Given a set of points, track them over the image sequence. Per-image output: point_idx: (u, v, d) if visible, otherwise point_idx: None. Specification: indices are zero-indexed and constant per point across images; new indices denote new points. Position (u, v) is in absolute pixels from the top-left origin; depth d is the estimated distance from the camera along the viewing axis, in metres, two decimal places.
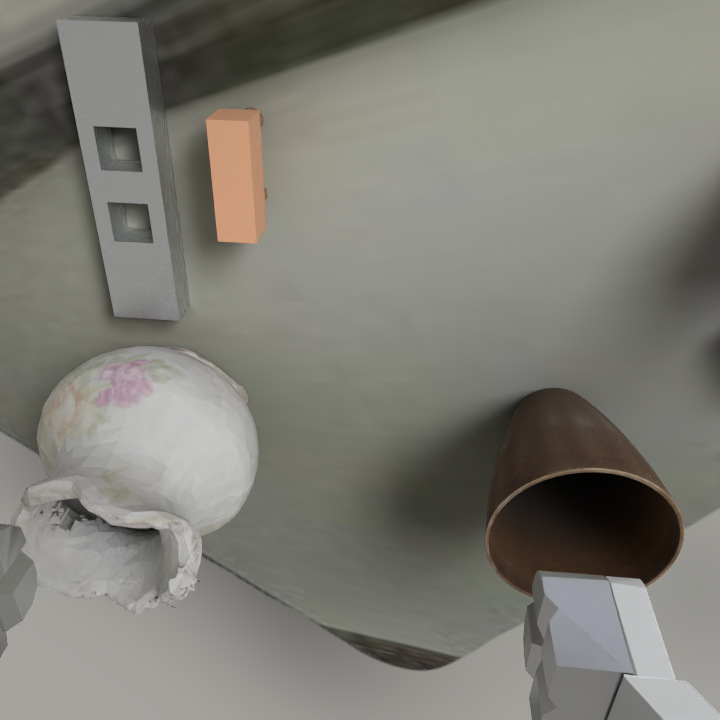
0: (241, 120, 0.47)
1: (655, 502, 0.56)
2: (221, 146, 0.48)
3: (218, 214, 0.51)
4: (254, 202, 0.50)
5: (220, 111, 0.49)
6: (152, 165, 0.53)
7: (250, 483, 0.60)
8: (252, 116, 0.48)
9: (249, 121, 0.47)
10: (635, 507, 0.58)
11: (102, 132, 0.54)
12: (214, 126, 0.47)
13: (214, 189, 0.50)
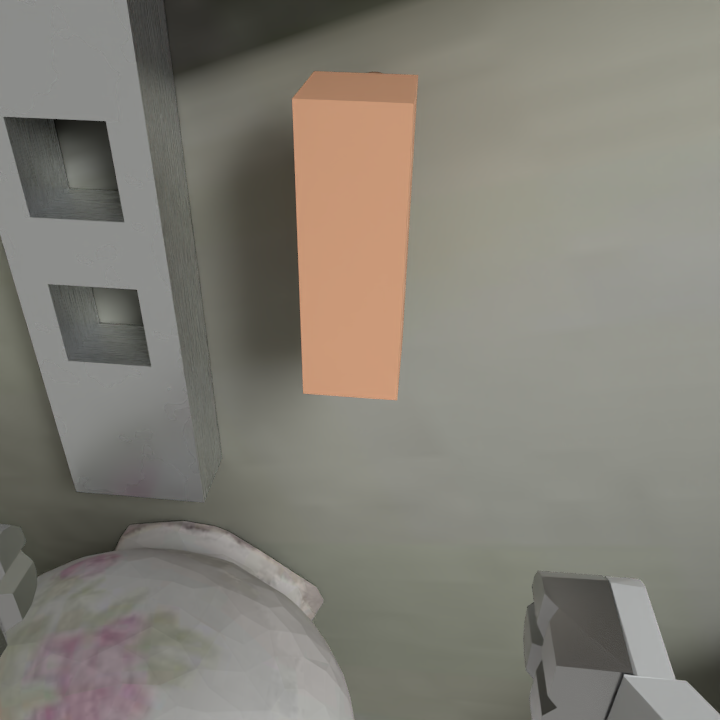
0: (393, 101, 0.17)
1: None
2: (331, 173, 0.18)
3: (309, 336, 0.20)
4: (402, 309, 0.20)
5: (320, 78, 0.19)
6: (146, 207, 0.23)
7: None
8: (413, 90, 0.18)
9: (414, 103, 0.17)
10: None
11: (32, 130, 0.23)
12: (315, 118, 0.17)
13: (303, 279, 0.19)
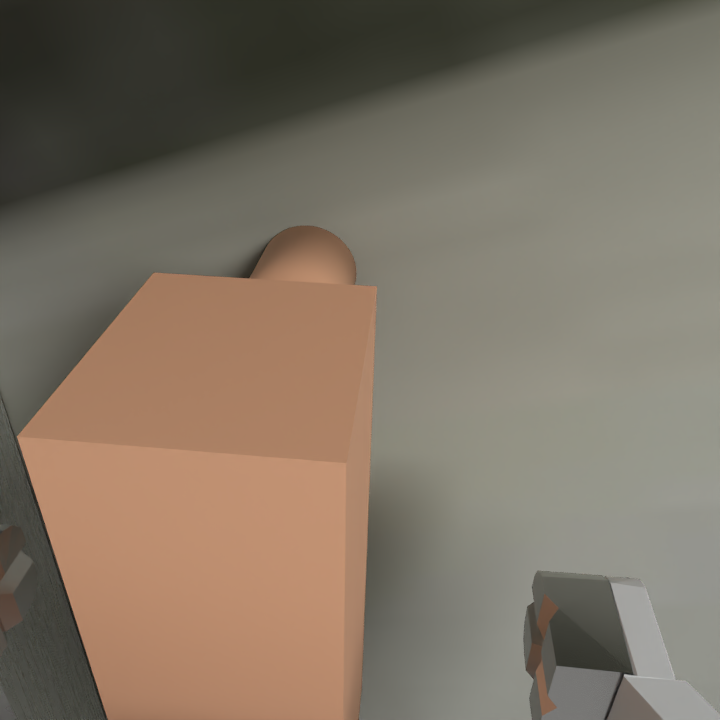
0: (290, 448, 0.06)
1: None
2: (150, 581, 0.07)
3: None
4: None
5: (153, 305, 0.08)
6: None
7: None
8: (356, 369, 0.07)
9: (350, 446, 0.06)
10: None
11: None
12: (88, 478, 0.06)
13: None
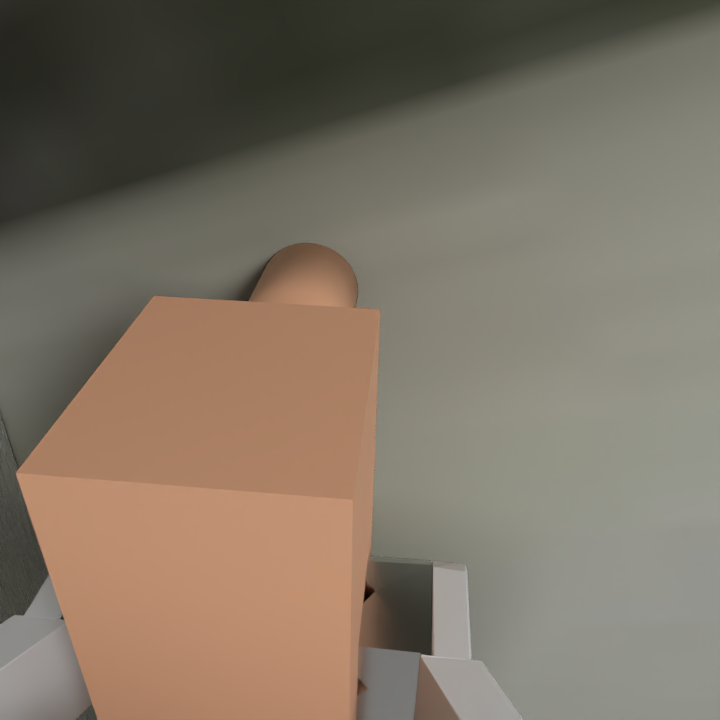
0: (295, 483, 0.06)
1: None
2: (152, 616, 0.07)
3: None
4: None
5: (154, 331, 0.08)
6: None
7: None
8: (361, 398, 0.07)
9: (356, 480, 0.06)
10: None
11: None
12: (88, 514, 0.06)
13: None
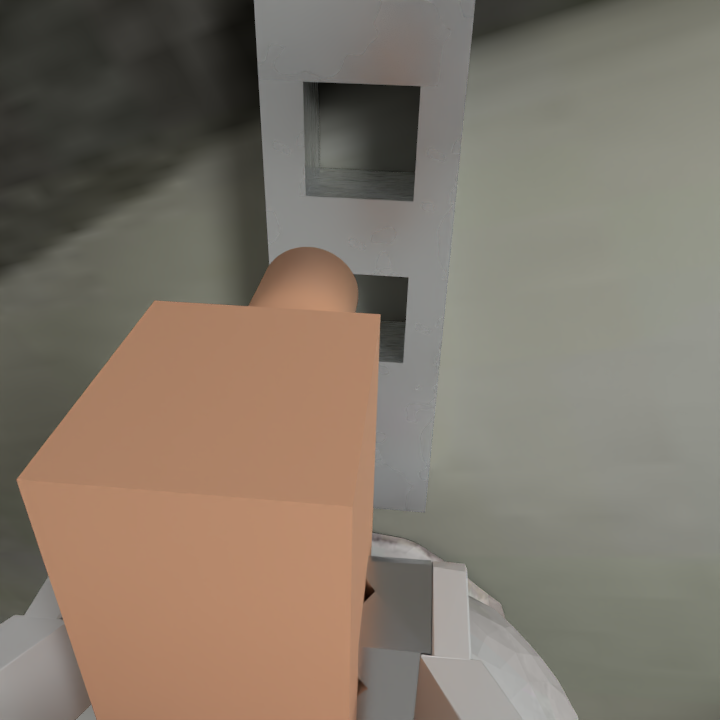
0: (295, 490, 0.06)
1: None
2: (153, 620, 0.07)
3: None
4: None
5: (155, 336, 0.08)
6: (442, 184, 0.21)
7: None
8: (361, 404, 0.07)
9: (355, 487, 0.06)
10: None
11: (311, 100, 0.21)
12: (88, 520, 0.06)
13: None
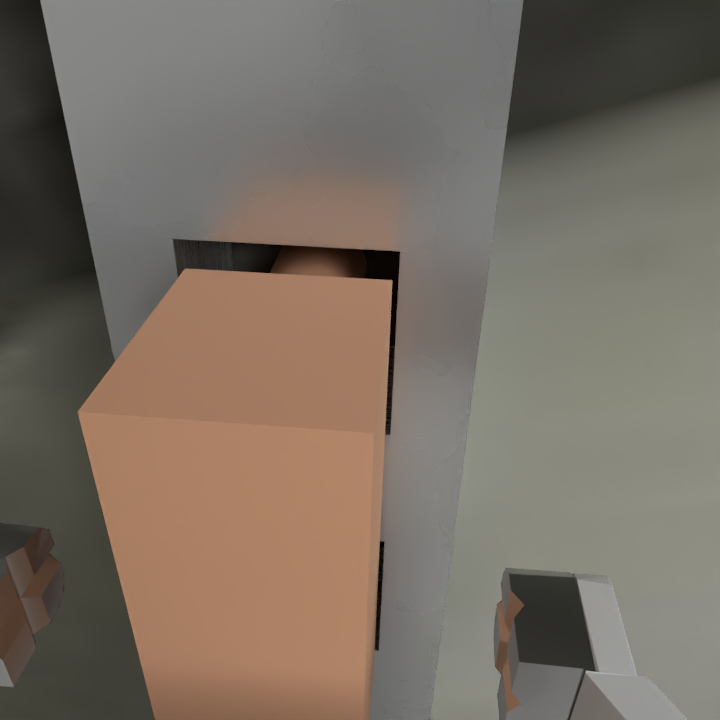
0: (322, 420, 0.07)
1: None
2: (192, 546, 0.08)
3: None
4: None
5: (188, 298, 0.09)
6: (443, 411, 0.11)
7: None
8: (378, 353, 0.08)
9: (375, 419, 0.07)
10: None
11: (206, 250, 0.12)
12: (139, 450, 0.07)
13: (158, 698, 0.09)
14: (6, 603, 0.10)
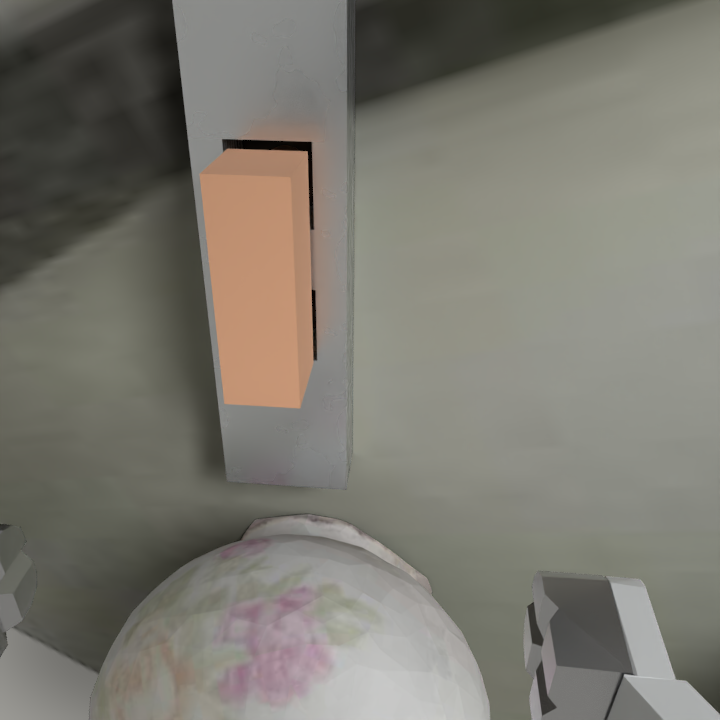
0: (275, 175, 0.22)
1: None
2: (233, 228, 0.23)
3: (225, 356, 0.25)
4: (298, 334, 0.25)
5: (229, 155, 0.24)
6: (335, 216, 0.26)
7: None
8: (296, 165, 0.23)
9: (292, 177, 0.22)
10: None
11: None
12: (218, 188, 0.22)
13: (217, 310, 0.24)
14: None
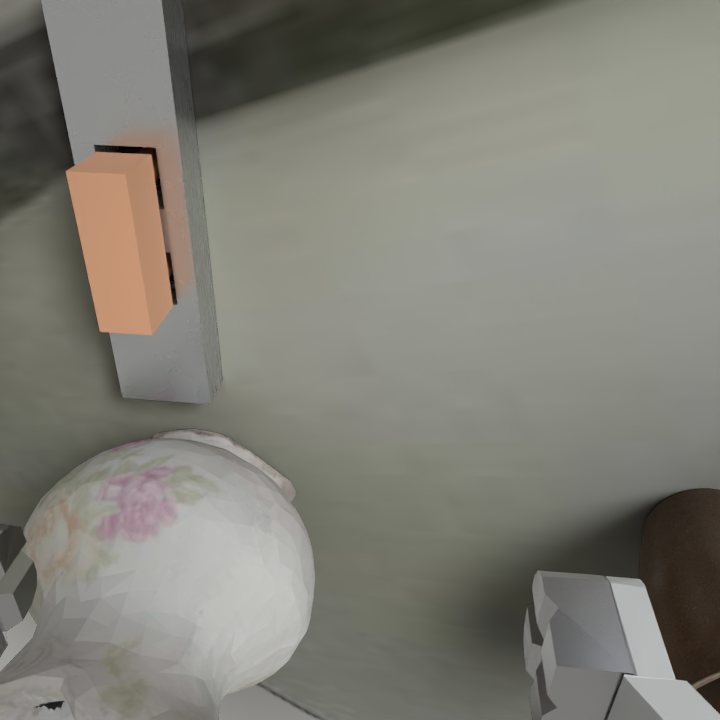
0: (116, 172, 0.33)
1: None
2: (92, 208, 0.34)
3: (97, 297, 0.37)
4: (145, 282, 0.36)
5: (95, 156, 0.35)
6: (178, 200, 0.37)
7: (306, 626, 0.44)
8: (136, 165, 0.34)
9: (128, 174, 0.33)
10: None
11: None
12: (78, 180, 0.33)
13: (88, 264, 0.36)
14: None
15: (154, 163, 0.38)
